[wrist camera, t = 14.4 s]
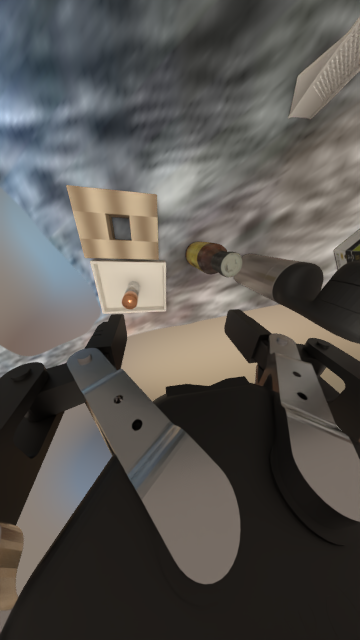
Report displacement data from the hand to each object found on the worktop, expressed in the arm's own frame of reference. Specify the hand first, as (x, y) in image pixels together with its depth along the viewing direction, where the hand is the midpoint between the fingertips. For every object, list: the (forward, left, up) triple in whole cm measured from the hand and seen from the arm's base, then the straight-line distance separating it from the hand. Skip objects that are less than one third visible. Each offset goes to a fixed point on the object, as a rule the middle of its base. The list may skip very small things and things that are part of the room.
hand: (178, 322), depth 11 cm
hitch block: (+8, -7, -34) cm, 36 cm away
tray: (+7, +7, -34) cm, 35 cm away
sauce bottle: (-11, -2, -34) cm, 36 cm away
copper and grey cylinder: (+7, +7, -33) cm, 34 cm away
